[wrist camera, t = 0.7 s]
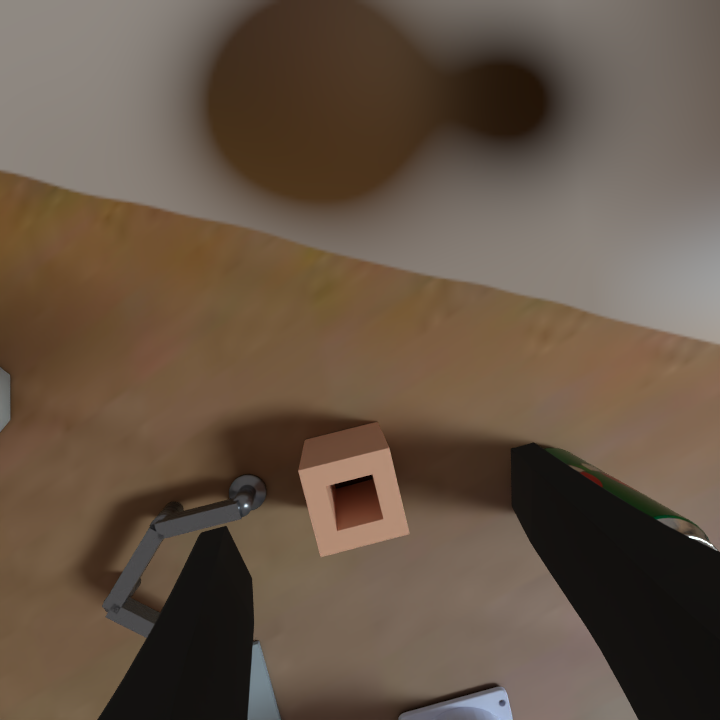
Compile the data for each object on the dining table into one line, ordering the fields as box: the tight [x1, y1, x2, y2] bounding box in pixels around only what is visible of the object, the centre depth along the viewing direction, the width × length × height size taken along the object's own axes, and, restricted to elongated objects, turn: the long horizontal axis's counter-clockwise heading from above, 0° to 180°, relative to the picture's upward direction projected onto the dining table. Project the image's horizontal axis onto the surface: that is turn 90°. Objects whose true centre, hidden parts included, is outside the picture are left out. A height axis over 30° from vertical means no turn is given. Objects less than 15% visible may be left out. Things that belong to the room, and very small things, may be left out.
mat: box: [248, 641, 281, 720], centre depth 31 cm, size 8×8×1 cm
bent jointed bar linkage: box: [102, 474, 266, 638], centre depth 28 cm, size 10×11×3 cm
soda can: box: [545, 448, 718, 551], centre depth 25 cm, size 5×5×12 cm
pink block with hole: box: [298, 422, 409, 557], centre depth 27 cm, size 5×5×6 cm
